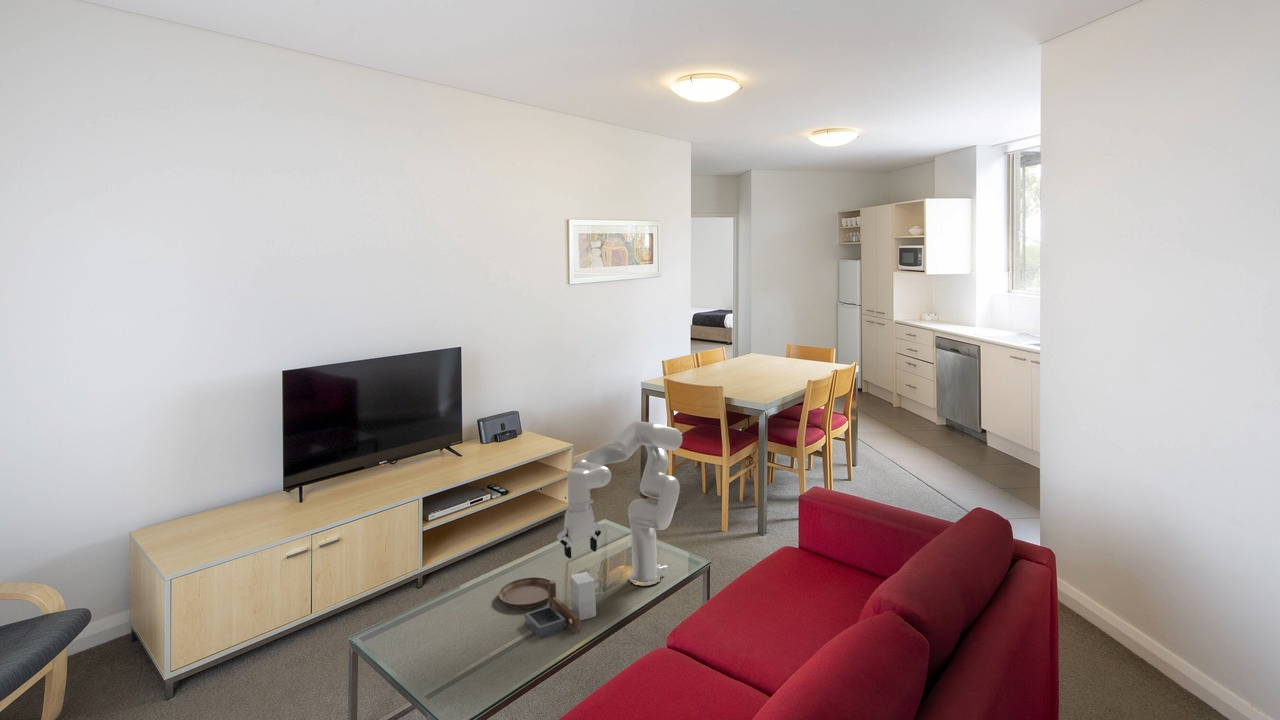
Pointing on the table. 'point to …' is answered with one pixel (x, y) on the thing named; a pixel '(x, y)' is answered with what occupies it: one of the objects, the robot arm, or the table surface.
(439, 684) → the table surface
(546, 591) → the plant saucer
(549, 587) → the brown l-shaped wood piece
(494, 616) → the table surface
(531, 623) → the gray square tray
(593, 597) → the small box
